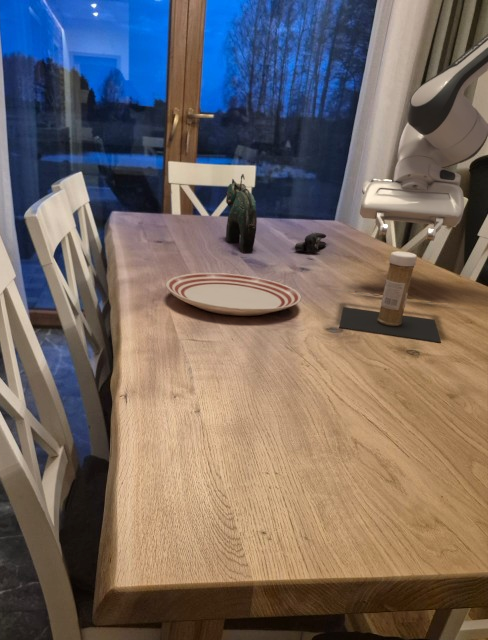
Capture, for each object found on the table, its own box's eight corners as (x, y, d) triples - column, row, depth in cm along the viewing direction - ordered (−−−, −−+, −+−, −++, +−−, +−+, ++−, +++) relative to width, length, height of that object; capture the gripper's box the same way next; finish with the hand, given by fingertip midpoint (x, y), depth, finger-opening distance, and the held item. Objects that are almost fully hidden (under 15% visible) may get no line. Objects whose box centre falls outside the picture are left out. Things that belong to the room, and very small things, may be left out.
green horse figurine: (220, 239, 179) (226, 170, 170) (240, 240, 180) (247, 171, 171) (238, 253, 161) (245, 177, 152) (260, 254, 162) (268, 179, 154)
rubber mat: (434, 320, 115) (434, 319, 115) (440, 343, 103) (441, 342, 103) (343, 307, 119) (343, 306, 119) (339, 328, 107) (339, 327, 107)
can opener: (313, 256, 164) (317, 236, 162) (291, 252, 167) (294, 232, 165) (334, 247, 178) (337, 229, 175) (313, 244, 181) (315, 225, 178)
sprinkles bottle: (405, 324, 111) (422, 254, 105) (391, 328, 108) (407, 256, 102) (386, 318, 114) (401, 249, 108) (371, 321, 112) (386, 251, 106)
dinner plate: (227, 279, 135) (228, 264, 134) (325, 308, 118) (328, 293, 117) (137, 297, 117) (137, 281, 116) (238, 335, 100) (240, 317, 99)
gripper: (366, 167, 122) (356, 221, 118) (469, 175, 117) (462, 232, 113) (362, 188, 128) (353, 240, 123) (461, 196, 123) (454, 250, 119)
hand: (406, 236), depth 118 cm, fingers open, 8 cm apart
